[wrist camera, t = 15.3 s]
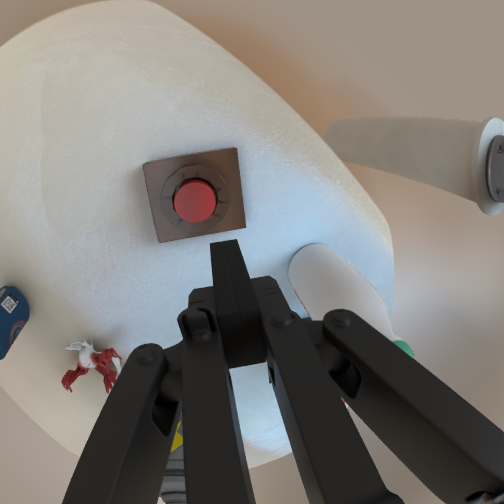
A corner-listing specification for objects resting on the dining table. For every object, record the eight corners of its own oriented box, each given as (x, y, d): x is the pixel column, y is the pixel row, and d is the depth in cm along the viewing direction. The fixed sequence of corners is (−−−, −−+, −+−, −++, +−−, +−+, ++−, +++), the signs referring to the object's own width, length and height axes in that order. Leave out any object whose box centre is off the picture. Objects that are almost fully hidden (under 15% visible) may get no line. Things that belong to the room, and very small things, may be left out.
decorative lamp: (128, 409, 43) (122, 544, 16) (220, 410, 47) (247, 548, 20) (148, 447, 51) (152, 550, 24) (222, 447, 54) (242, 550, 27)
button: (211, 176, 26) (212, 179, 25) (217, 214, 28) (218, 219, 26) (172, 183, 26) (170, 186, 24) (179, 221, 27) (178, 226, 26)
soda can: (26, 325, 32) (-3, 373, 21) (-2, 299, 29) (-36, 342, 18) (37, 303, 31) (3, 354, 20) (8, 274, 28) (-33, 317, 17)
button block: (234, 147, 29) (239, 148, 25) (243, 222, 33) (249, 233, 29) (146, 162, 28) (138, 165, 24) (161, 236, 31) (156, 249, 28)
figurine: (100, 387, 40) (93, 415, 34) (53, 347, 35) (40, 374, 29) (154, 359, 39) (151, 391, 33) (101, 310, 34) (88, 341, 28)
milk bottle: (276, 263, 36) (344, 379, 18) (324, 230, 35) (426, 319, 17) (301, 300, 39) (366, 409, 21) (345, 271, 38) (430, 363, 20)
